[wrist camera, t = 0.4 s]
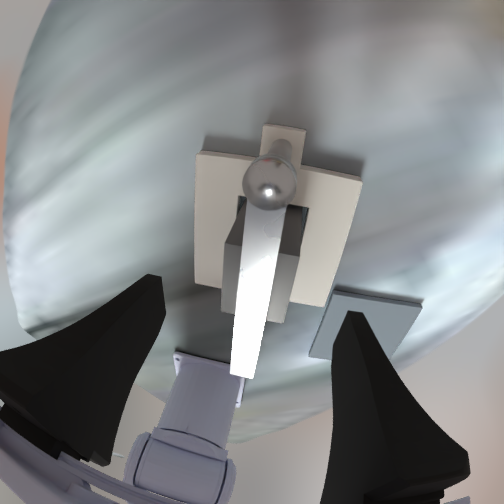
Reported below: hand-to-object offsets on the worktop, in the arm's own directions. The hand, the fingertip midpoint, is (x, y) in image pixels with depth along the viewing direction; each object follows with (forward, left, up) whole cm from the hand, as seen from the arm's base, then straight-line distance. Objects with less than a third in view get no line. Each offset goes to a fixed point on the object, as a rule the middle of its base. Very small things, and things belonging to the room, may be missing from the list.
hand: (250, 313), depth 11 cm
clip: (-2, 0, -3) cm, 4 cm away
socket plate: (-1, 0, -10) cm, 10 cm away
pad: (-10, -9, -10) cm, 17 cm away
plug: (-2, 0, -10) cm, 10 cm away
